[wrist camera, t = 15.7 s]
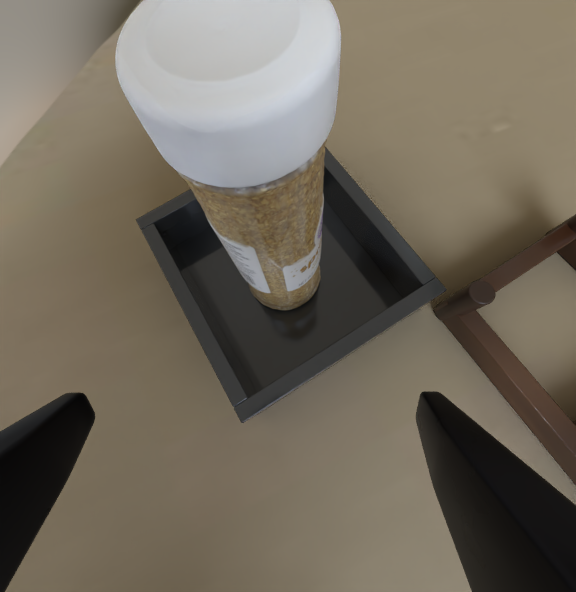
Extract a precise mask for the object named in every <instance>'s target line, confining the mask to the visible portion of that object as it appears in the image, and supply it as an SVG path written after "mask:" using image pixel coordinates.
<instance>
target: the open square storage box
mask: <svg viewBox="0 0 576 592" xmlns="http://www.w3.org/2000/svg"><path fill="white" fill-rule="evenodd" d="M323 195H324V205H323V218H322V241H321V256H320V261H319V266H320V276H321V278H320V282H319V285H318V288H317V290H316V292H315V293H314V295H313V296H312V297H311V298H310V299H309V300H308V301H307V302H306V303H304V304H302V305H301V306H299V307H297V308H294V309H291V310H278V309H271V308H270V307H267V306H265V305H263V304H262V303H260V302H259V301H258V300H257V299H256V298H255V297H254V296H253V294H252V292H251V290H250V288H249V285H248V282H247V281H246V280H245V279H244V278H243V276H242V275H241V273H240V272H239V270H238V269H237V267H236V265H235V264H234V262H233V261H232V259H231V257H230V256H229V254H228V252H227V251H226V249H225V248H224V246H223V244H222V243H221V241H220V239H219V238H218V236H217V235H216V233H215V232H214V230H213V228H212V227H211V225H210V223H209V221H208V220H207V217H206V215H205V212H204V210H203V209H202V207H201V205H200V203H199V202H198V200H197V198H196V197H195V195H194V193H193V192H192V190H191V189H190V190H188V191H186V192H185V193H183V194H181V195H179V196H177V197H176V198H174V199H172V200H170V201H168V202H166V203H165V204H163V205H161V206H159V207H157V208H156V209H154V210H152V211H150V212H148V213H147V214H145V215H143V216H141V217H139V218H138V219H136V221H137V223H138V225H139V227H140V229H141V230H142V233H143V235H144V236H145V238H146V240H147V242H148V244H149V246H150V248H151V250H152V252H153V254H154V256H155V258H156V260H157V261H158V263H159V265H160V267H161V269H162V271H163V273H164V275H165V277H166V279H167V281H168V283H169V285H170V286H171V288H172V290H173V292H174V294H175V296H176V298H177V300H178V302H179V304H180V306H181V308H182V310H183V311H184V313H185V315H186V317H187V319H188V321H189V323H190V325H191V327H192V329H193V331H194V333H195V335H196V336H197V338H198V340H199V342H200V344H201V346H202V348H203V350H204V352H205V354H206V356H207V358H208V360H209V361H210V363H211V365H212V367H213V369H214V371H215V373H216V375H217V377H218V379H219V381H220V383H221V385H222V386H223V388H224V390H225V392H226V394H227V396H228V398H229V400H230V402H231V404H232V406H233V407H234V410H235V411H236V413H237V415H238V417H239V419H240V421H241V423H244V422H246V421H247V420H249V419H251V418H253V417H255V416H256V415H258V414H259V413H261V412H263V411H264V410H266V409H267V408H269V407H270V406H272V405H273V404H275V403H276V402H278V401H279V400H281V399H282V398H284V397H286V396H287V395H289V394H290V393H292V392H293V391H295V390H296V389H298V388H299V387H301V386H302V385H304V384H305V383H307V382H309V381H310V380H312V379H313V378H315V377H316V376H318V375H319V374H321V373H322V372H324V371H325V370H327V369H328V368H330V367H332V366H333V365H335V364H336V363H338V362H339V361H341V360H342V359H344V358H345V357H347V356H348V355H350V354H351V353H353V352H355V351H356V350H358V349H359V348H361V347H362V346H364V345H365V344H367V343H368V342H370V341H371V340H373V339H374V338H376V337H377V336H379V335H381V334H382V333H384V332H385V331H387V330H388V329H390V328H391V327H393V326H394V325H396V324H397V323H399V322H400V321H402V320H404V319H405V318H407V317H408V316H410V315H411V314H413V313H414V312H416V311H417V310H419V309H420V308H422V307H423V306H425V305H426V304H428V303H429V302H430V301H432V300H433V299H435V298H436V297H438V296H439V295H440V294H442V293H443V292H445V291H446V288H445V287H444V286H443V285H442V283H441V282H440V281H439V280H438V279H437V278H435V275H434V274H433V273H432V272H431V270H430V269H429V268H428V267H427V266H426V265H425V263H424V262H423V261H422V260H421V259H420V258H419V256H418V255H417V254H416V253H415V252H414V250H413V249H412V248H411V247H410V246H409V245H408V243H407V242H406V241H405V240H404V239H403V238H402V236H401V235H400V234H399V233H398V232H397V230H396V229H395V228H394V227H393V226H392V225H391V223H390V222H389V221H388V220H387V219H386V218H385V216H384V215H383V214H382V213H381V212H380V210H379V209H378V208H377V207H376V206H375V205H374V203H373V202H372V201H371V200H370V199H369V198H368V196H367V195H366V194H365V193H364V192H363V191H362V189H361V188H360V187H359V186H358V185H357V183H356V182H355V181H354V180H353V179H352V178H351V176H350V175H349V174H348V173H347V172H346V171H345V169H344V168H343V167H342V166H341V165H340V163H339V162H338V161H337V160H336V159H335V158H334V156H333V155H332V154H331V153H330V152H329V151H328V149H327V148H326V147H325V156H324V176H323Z"/></svg>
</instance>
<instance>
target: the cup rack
mask: <svg viewBox="0 0 576 592" xmlns="http://www.w3.org/2000/svg"><path fill="white" fill-rule="evenodd" d="M555 252H558V253H559V254H560V255H561V256H562V257H563V258H564V259H565V260H566V261H567V262H568V263H570V264H571V265H572V266H573V267H574V268H575V269H576V214H575V215H574V216H572V217H571V218H569V219H568V220H566V221H565V222H563V223H562V224H560V225H558V226H557V227H555V228H554V229H552V230H551V231H549V232H548V233H547V234H546V235H545V237H543V238H542V239H540V240H538V241H537V242H535V243H534V244H532V245H531V246H529V247H528V248H526V249H525V250H523V251H522V252H520V253H519V254H517V255H516V256H514V257H513V258H511V259H510V260H508V261H506V262H505V263H503V264H502V265H500V266H499V267H497V268H496V269H494V270H493V271H491V272H490V273H488V274H487V275H485V276H484V277H482V278H481V279H479V280H478V281H474V282H472V283H471V284H469V285H467V286H466V287H464V288H463V289H461V290H460V291H458V292H456V293H455V294H453V295H452V296H450V297H449V298H447V299H446V300H444V301H442V302H441V303H439V304H438V305H437V306H436V308H435V309H434V311H435V313H436V316H437V317H438V318H439V319H440V320H442V321H443V322H444V324H445V325H446V326H447V327H448V329H449V330H450V331H451V332H452V333H453V335H454V336H455V337H456V338H457V340H458V341H459V342H460V343H461V345H462V346H463V347H464V348H465V349H466V351H467V352H468V353H469V354H470V356H471V357H472V358H473V359H474V360H475V362H476V363H477V364H478V365H479V367H480V368H481V369H482V370H483V372H484V373H485V374H486V375H487V376H488V378H489V379H490V380H491V381H492V383H493V384H494V385H495V386H496V387H497V389H498V390H499V391H500V392H501V394H502V395H503V396H504V397H505V399H506V400H507V401H508V402H509V403H510V405H511V406H512V407H513V408H514V410H515V411H516V412H517V413H518V414H519V416H520V417H521V418H522V419H523V421H524V422H525V423H526V424H527V426H528V427H529V428H530V429H531V430H532V432H533V433H534V434H535V435H536V437H537V438H538V439H539V440H540V442H541V443H542V444H543V445H544V446H545V448H546V449H547V450H548V451H549V453H550V454H551V455H552V456H553V457H554V459H555V460H556V461H557V462H558V464H559V465H560V466H561V467H562V469H563V470H564V471H565V472H566V473H567V475H568V476H569V477H570V478H571V480H572V481H573V482H574V483H575V484H576V421H575V422H574V423H573V422H572V421H571V420H570V419H569V418H568V416H567V415H566V414H565V413H564V412H563V411H562V409H561V408H560V407H559V406H558V405H557V404H556V403H555V401H554V400H553V399H552V398H551V397H550V396H549V394H548V393H547V392H546V391H545V390H544V389H543V387H542V386H541V385H540V384H539V383H538V382H537V381H536V379H535V378H534V377H533V376H532V375H531V374H530V372H529V371H528V370H527V369H526V368H525V367H524V366H523V364H522V363H521V362H520V361H519V360H518V359H517V357H516V356H515V355H514V354H513V353H512V352H511V350H510V349H509V348H508V347H507V346H506V345H505V344H504V342H503V341H502V340H501V339H500V338H499V337H498V335H497V334H496V333H495V332H494V331H493V330H492V328H491V327H490V326H489V325H488V324H487V323H486V322H485V320H484V319H483V318H482V317H481V316H480V315H479V313H478V312H477V311H476V310H477V309H479V308H481V307H483V306H485V305H487V304H490V303H491V302H492V301H493V300H494V298H495V292H497V291H498V290H500V289H501V288H503V287H504V286H506V285H507V284H509V283H510V282H512V281H513V280H515V279H516V278H518V277H519V276H521V275H522V274H524V273H525V272H527V271H528V270H530V269H531V268H533V267H534V266H536V265H537V264H539V263H540V262H542V261H543V260H545V259H546V258H548V257H549V256H551V255H552V254H554V253H555Z"/></svg>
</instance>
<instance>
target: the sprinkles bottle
mask: <svg viewBox="0 0 576 592" xmlns="http://www.w3.org/2000/svg"><path fill="white" fill-rule="evenodd" d="M340 53H341V31H340V24H339V20H338V17H337V15H336V12H335V9H334V7H333V5H332V4H331V2H330V1H329V0H143V1H142V2H141V3H140V4H139V6H138V7H137V8H136V9H135V10H134V11H133V12H132V14H131V15H130V17H129V18H128V20H127V21H126V23H125V25H124V26H123V29H122V31H121V33H120V36H119V39H118V42H117V47H116V58H115V62H116V71H117V76H118V80H119V83H120V86H121V88H122V90H123V92H124V95H125V96H126V98H127V100H128V102H129V103H130V105H131V107H132V108H133V110H134V112H135V114H136V115H137V117H138V119H139V120H140V122H141V124H142V125H143V127H144V129H145V130H146V132H147V133H148V135H149V136H150V138H151V139H152V141H153V143H154V144H155V146H156V147H157V149H158V150H159V152H160V154H161V155H162V156H163V158H164V159H165V160H166V161H167V162H168V164H169V165H170V166H172V167H173V168H174V169H175V170H176V171H177V173H178V174H179V175H180V176H181V177H182V178H183V179H184V180H186V182H187V184H188V186H189V187H190V188H191V190H192V192H193V193H194V195H195V197H196V198H197V200H198V202H199V203H200V205H201V207H202V209H203V210H204V212H205V215H206V217H207V220H208V221H209V223H210V225H211V227H212V228H213V230H214V232H215V233H216V235H217V236H218V238H219V239H220V241H221V243H222V244H223V246H224V248H225V249H226V251H227V252H228V254H229V256H230V257H231V259H232V261H233V262H234V264H235V265H236V267H237V269H238V270H239V272H240V273H241V275H242V276H243V278H244V279H245V280H246V281H247V282H248V285H249V288H250V290H251V292H252V294H253V296H254V297H255V298H256V299H257V300H258V301H259V302H260V303H262V304H263V305H265V306H267V307H270V308H271V309H278V310H291V309H294V308H297V307H299V306H301V305H302V304H304V303H306V302H307V301H308V300H309V299H310V298H311V297H312V296H313V295H314V293H315V292H316V290H317V288H318V285H319V282H320V278H321V276H320V266H319V261H320V256H321V241H322V218H323V205H324V195H323V176H324V156H325V144H326V141H327V136H328V134H329V132H330V131H331V129H332V125H333V122H334V119H335V113H336V105H337V95H338V84H339V70H340Z"/></svg>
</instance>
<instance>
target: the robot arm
mask: <svg viewBox="0 0 576 592" xmlns="http://www.w3.org/2000/svg"><path fill="white" fill-rule="evenodd" d="M94 420H95V412H94V410H93V408H92V406H91V404H90V402H89V400H88V399H87V397H86V395H85V394H83V393H66V394H64V395H62V396H61V397H59V398H57V399H55V400H54V401H52V402H50V403H49V404H47V405H45V406H43V407H42V408H40V409H38V410H36V411H35V412H33V413H31V414H30V415H28V416H26V417H24V418H23V419H21V420H19V421H18V422H16V423H14V424H12V425H11V426H9V427H7V428H6V429H4V430H2V431H0V592H5V590H6V589H7V587H8V585H9V583H10V582H11V580H12V578H13V576H14V574H15V573H16V571H17V569H18V567H19V566H20V564H21V562H22V560H23V558H24V557H25V555H26V553H27V551H28V550H29V548H30V546H31V544H32V542H33V541H34V539H35V537H36V535H37V534H38V532H39V530H40V528H41V526H42V525H43V523H44V521H45V519H46V518H47V516H48V514H49V512H50V510H51V509H52V507H53V505H54V503H55V502H56V500H57V498H58V496H59V494H60V493H61V491H62V489H63V487H64V485H65V483H66V482H67V480H68V478H69V476H70V474H71V472H72V469H73V467H74V465H75V463H76V461H77V458H78V456H79V454H80V452H81V450H82V448H83V445H84V443H85V441H86V439H87V437H88V434H89V432H90V430H91V428H92V426H93V423H94ZM416 422H417V426H418V430H419V434H420V438H421V442H422V446H423V449H424V453H425V457H426V461H427V465H428V469H429V473H430V476H431V480H432V484H433V487H434V490H435V493H436V496H437V498H438V501H439V504H440V507H441V509H442V512H443V515H444V517H445V520H446V523H447V525H448V528H449V531H450V534H451V536H452V539H453V542H454V544H455V547H456V550H457V552H458V555H459V558H460V561H461V563H462V566H463V569H464V571H465V574H466V577H467V579H468V582H469V585H470V588H471V590H472V592H576V505H575V504H574V503H572V502H571V501H570V500H569V499H568V498H566V497H565V496H564V495H563V494H562V493H560V492H559V491H558V490H557V489H556V488H554V487H553V486H552V485H551V484H550V483H548V482H547V481H546V480H545V479H543V478H542V477H541V476H540V475H539V474H537V473H536V472H535V471H534V470H533V469H531V468H530V467H529V466H528V465H527V464H525V463H524V462H523V461H522V460H521V459H519V458H518V457H517V456H516V455H515V454H513V453H512V452H511V451H510V450H509V449H507V448H506V447H505V446H504V445H503V444H501V443H500V442H499V441H498V440H496V439H495V438H494V437H493V436H492V435H490V434H489V433H488V432H487V431H486V430H484V429H483V428H482V427H481V426H480V425H478V424H477V423H476V422H475V421H474V420H472V419H471V418H470V417H469V416H468V415H466V414H465V413H464V412H463V411H462V410H460V409H459V408H458V407H457V406H455V405H454V404H453V403H452V402H451V401H449V400H448V399H447V398H446V397H445V396H443V395H442V394H441V393H439V392H422V393H421V394H420V398H419V402H418V407H417V412H416Z"/></svg>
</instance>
